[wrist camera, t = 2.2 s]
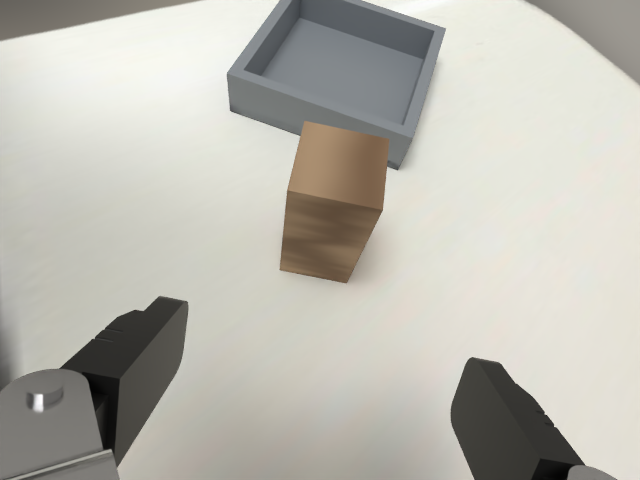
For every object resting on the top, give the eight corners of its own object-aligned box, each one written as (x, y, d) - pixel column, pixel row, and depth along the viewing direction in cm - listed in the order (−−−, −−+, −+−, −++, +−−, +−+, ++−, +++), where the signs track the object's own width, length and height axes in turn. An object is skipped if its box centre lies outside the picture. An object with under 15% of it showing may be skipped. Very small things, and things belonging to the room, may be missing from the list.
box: (230, 110, 35) (226, 73, 32) (293, 16, 43) (295, -22, 40) (397, 169, 35) (412, 138, 31) (430, 63, 42) (446, 28, 39)
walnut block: (279, 270, 29) (287, 190, 20) (292, 213, 31) (304, 120, 22) (346, 283, 29) (382, 210, 20) (354, 226, 31) (389, 138, 23)
